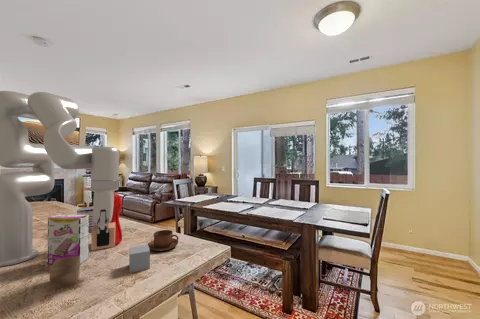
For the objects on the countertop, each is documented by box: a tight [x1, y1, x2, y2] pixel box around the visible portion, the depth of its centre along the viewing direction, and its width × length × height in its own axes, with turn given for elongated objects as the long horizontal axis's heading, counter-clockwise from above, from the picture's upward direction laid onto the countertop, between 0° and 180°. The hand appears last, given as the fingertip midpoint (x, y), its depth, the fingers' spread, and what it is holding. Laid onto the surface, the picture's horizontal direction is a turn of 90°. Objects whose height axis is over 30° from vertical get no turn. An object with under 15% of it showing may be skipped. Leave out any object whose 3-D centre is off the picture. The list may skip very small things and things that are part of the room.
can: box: [76, 206, 97, 234], centre depth 112 cm, size 11×11×12 cm
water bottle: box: [97, 192, 123, 246], centre depth 94 cm, size 9×11×25 cm
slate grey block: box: [128, 244, 151, 274], centre depth 75 cm, size 6×6×6 cm
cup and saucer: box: [147, 229, 179, 252], centre depth 91 cm, size 12×12×6 cm
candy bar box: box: [47, 213, 90, 266], centre depth 78 cm, size 11×5×16 cm, turn 92°
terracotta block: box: [90, 223, 116, 251], centre depth 70 cm, size 6×6×6 cm
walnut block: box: [49, 256, 81, 291], centre depth 65 cm, size 6×6×6 cm
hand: (103, 241), depth 70 cm, fingers closed on terracotta block, 6 cm apart
